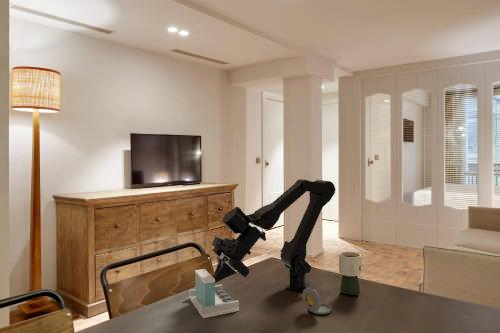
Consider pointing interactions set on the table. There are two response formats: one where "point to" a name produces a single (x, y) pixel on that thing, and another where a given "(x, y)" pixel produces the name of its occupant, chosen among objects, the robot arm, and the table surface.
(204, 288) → the teal and cream panel
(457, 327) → the table surface
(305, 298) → the pocket watch
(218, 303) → the white slotted tray
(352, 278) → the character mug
